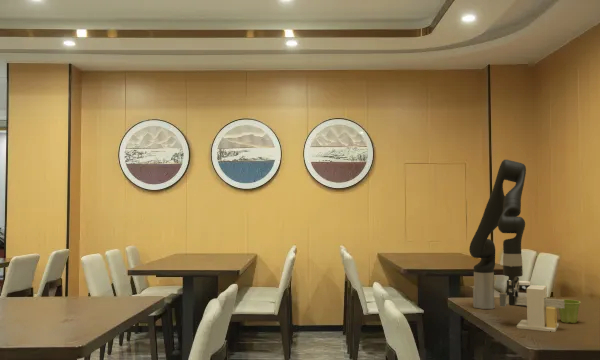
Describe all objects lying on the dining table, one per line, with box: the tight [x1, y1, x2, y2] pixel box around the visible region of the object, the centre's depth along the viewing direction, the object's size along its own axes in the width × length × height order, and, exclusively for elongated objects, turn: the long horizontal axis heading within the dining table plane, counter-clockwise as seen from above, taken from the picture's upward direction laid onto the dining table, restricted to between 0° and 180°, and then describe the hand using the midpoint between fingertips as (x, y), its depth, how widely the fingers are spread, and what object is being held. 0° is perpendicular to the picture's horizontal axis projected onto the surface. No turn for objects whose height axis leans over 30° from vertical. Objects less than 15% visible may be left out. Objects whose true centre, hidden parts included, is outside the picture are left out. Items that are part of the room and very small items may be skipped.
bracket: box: [516, 284, 559, 333], centre depth 216 cm, size 14×13×16 cm
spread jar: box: [517, 280, 531, 307], centre depth 263 cm, size 12×11×12 cm
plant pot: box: [558, 299, 581, 324], centre depth 225 cm, size 9×9×9 cm
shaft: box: [499, 292, 565, 309], centre depth 217 cm, size 24×5×5 cm, turn 59°
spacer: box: [546, 307, 558, 328], centre depth 213 cm, size 3×8×8 cm, turn 149°
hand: (513, 303), depth 220 cm, fingers open, 8 cm apart
